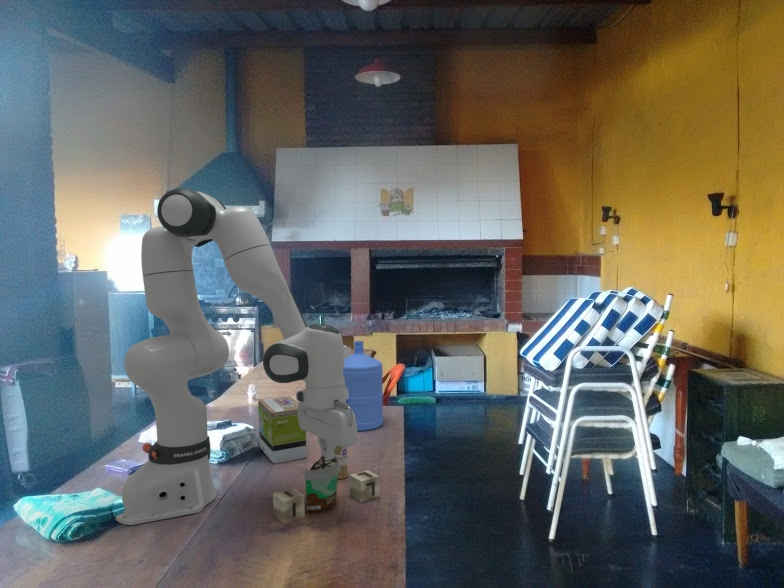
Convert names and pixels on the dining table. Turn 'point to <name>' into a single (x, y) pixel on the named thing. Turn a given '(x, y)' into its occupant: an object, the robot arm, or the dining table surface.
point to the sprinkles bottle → (342, 461)
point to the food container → (322, 484)
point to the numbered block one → (288, 505)
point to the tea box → (281, 430)
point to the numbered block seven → (364, 485)
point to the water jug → (364, 388)
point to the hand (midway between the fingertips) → (327, 457)
